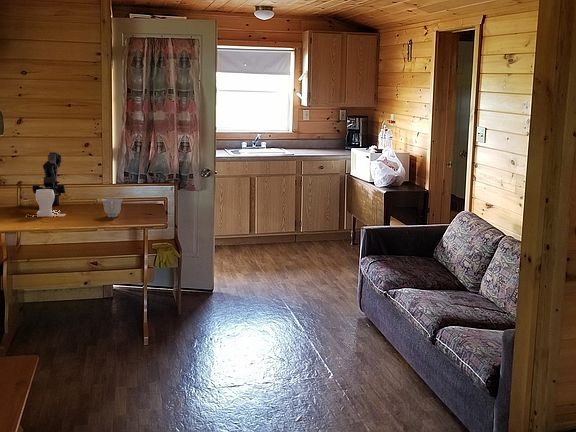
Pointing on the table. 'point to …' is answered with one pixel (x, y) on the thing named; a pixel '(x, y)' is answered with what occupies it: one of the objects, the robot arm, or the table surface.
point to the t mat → (52, 215)
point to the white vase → (45, 201)
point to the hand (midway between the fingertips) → (48, 200)
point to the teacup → (112, 206)
